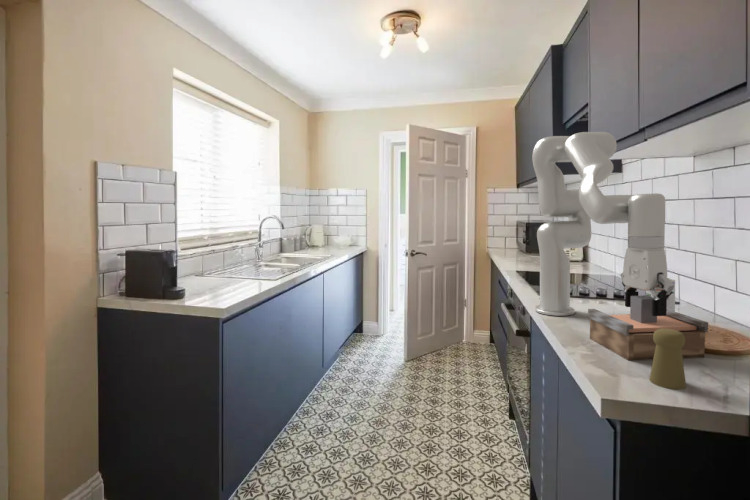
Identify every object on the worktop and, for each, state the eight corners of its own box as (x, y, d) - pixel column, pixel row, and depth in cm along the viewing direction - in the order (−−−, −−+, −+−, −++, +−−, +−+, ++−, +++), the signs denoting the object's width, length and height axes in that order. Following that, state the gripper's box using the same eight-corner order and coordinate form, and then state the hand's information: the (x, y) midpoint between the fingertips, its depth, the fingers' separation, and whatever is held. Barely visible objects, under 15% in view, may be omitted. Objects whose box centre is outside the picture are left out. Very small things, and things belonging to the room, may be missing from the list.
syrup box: (675, 328, 113) (677, 279, 111) (652, 328, 114) (654, 279, 112) (664, 323, 118) (666, 276, 117) (643, 322, 119) (644, 276, 118)
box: (587, 338, 107) (588, 308, 106) (656, 335, 107) (657, 306, 106) (625, 360, 91) (626, 325, 90) (706, 357, 91) (708, 322, 90)
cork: (674, 391, 75) (676, 336, 74) (642, 380, 80) (644, 328, 79) (693, 385, 77) (695, 331, 76) (660, 374, 83) (662, 324, 82)
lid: (595, 319, 104) (596, 293, 104) (659, 316, 104) (659, 291, 104) (624, 332, 92) (625, 304, 92) (696, 330, 92) (697, 301, 92)
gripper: (609, 242, 105) (608, 304, 106) (656, 246, 88) (654, 320, 89) (636, 241, 105) (635, 303, 106) (689, 245, 88) (687, 319, 89)
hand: (644, 310), depth 98 cm, fingers open, 9 cm apart
